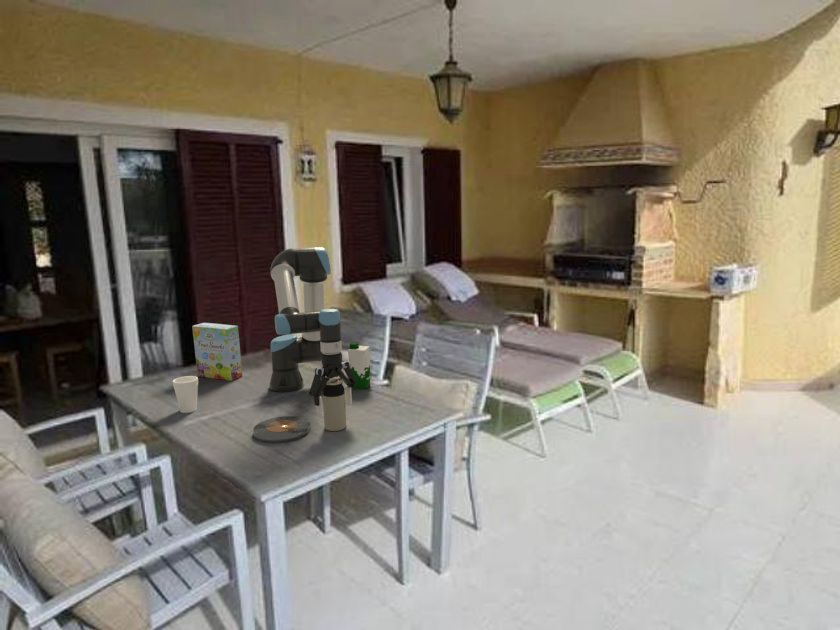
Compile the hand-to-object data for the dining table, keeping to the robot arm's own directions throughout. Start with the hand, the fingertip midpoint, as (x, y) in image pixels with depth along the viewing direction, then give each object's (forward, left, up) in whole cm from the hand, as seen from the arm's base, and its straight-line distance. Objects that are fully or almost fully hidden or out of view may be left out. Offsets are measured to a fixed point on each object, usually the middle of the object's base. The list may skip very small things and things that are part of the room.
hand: (334, 408), depth 205 cm
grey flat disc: (+15, -12, -7) cm, 21 cm away
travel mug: (0, 0, -8) cm, 8 cm away
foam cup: (+27, -61, -8) cm, 67 cm away
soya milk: (-38, -29, -8) cm, 48 cm away
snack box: (-4, -94, -8) cm, 95 cm away
